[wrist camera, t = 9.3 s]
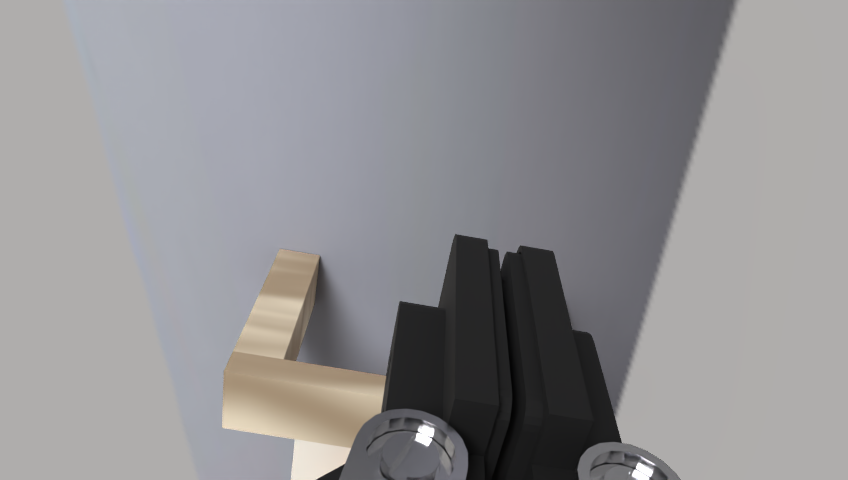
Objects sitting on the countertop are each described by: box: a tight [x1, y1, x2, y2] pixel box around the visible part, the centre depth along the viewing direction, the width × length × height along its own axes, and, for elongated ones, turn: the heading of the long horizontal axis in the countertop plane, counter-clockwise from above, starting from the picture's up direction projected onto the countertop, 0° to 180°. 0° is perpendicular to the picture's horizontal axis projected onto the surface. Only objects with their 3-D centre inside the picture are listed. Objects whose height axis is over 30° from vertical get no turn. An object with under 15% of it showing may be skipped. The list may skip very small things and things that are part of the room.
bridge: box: [222, 249, 386, 448], centre depth 31 cm, size 3×14×9 cm, turn 80°
